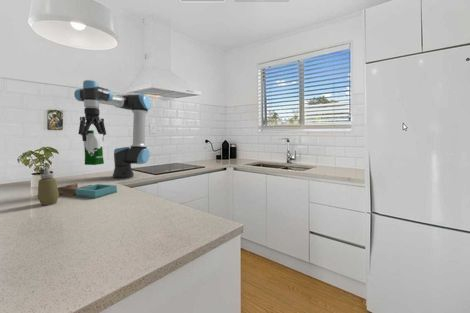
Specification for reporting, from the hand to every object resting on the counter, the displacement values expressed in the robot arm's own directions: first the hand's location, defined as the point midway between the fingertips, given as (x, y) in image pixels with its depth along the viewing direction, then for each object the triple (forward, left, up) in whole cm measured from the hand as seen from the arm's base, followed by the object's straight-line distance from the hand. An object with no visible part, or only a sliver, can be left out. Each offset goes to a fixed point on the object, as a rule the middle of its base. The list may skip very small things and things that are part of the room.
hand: (93, 146), depth 139 cm
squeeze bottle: (+28, +2, -26) cm, 39 cm away
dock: (+8, -6, -26) cm, 28 cm away
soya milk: (0, 0, -11) cm, 11 cm away
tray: (+7, +9, -26) cm, 29 cm away
